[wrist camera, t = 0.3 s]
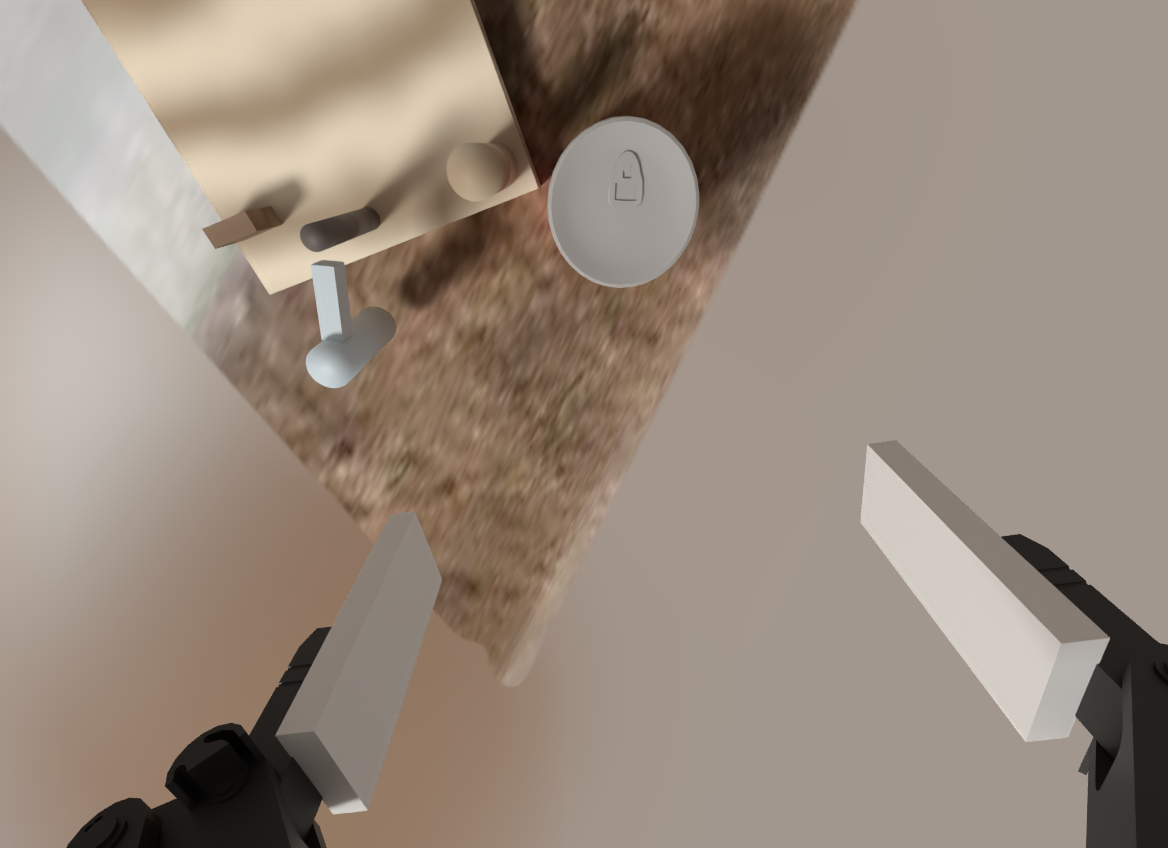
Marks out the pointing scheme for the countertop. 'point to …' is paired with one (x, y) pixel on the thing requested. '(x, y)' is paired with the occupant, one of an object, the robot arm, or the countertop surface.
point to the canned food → (623, 201)
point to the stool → (325, 119)
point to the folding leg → (343, 329)
